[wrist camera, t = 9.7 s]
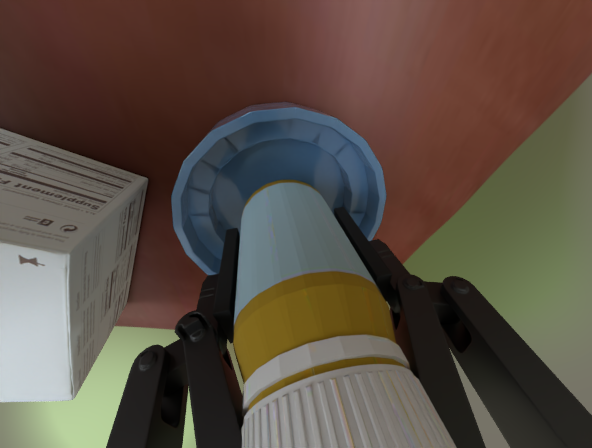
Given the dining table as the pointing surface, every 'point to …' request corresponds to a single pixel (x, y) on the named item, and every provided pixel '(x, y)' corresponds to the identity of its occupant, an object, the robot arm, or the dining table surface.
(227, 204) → the bowl
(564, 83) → the dining table surface
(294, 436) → the bottle
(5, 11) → the dining table surface
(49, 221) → the supplement box
